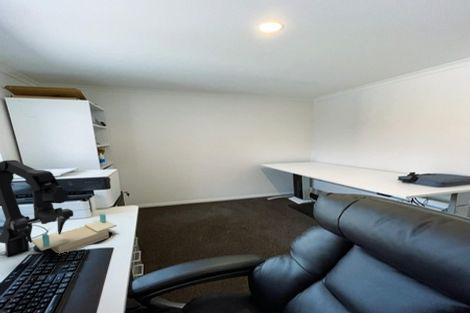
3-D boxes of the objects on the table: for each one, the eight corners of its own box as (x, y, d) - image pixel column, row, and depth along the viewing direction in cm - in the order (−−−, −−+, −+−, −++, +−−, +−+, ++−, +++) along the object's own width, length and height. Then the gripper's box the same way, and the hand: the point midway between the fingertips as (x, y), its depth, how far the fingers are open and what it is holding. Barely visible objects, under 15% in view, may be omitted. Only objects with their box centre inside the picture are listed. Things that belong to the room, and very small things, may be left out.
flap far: (97, 232, 103) (96, 222, 103) (84, 225, 111) (84, 216, 111) (116, 226, 110) (116, 216, 110) (103, 220, 119) (102, 211, 118)
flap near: (41, 250, 86) (40, 238, 85) (31, 241, 94) (30, 230, 94) (68, 241, 93) (68, 230, 93) (57, 233, 102) (56, 223, 101)
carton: (59, 255, 90) (58, 246, 90) (47, 245, 99) (46, 237, 99) (108, 237, 107) (108, 229, 106) (94, 230, 116) (94, 223, 116)
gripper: (15, 211, 75) (19, 253, 76) (77, 199, 91) (79, 234, 92) (8, 206, 81) (12, 245, 83) (67, 196, 97) (69, 229, 98)
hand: (45, 238), depth 88 cm, fingers open, 9 cm apart
